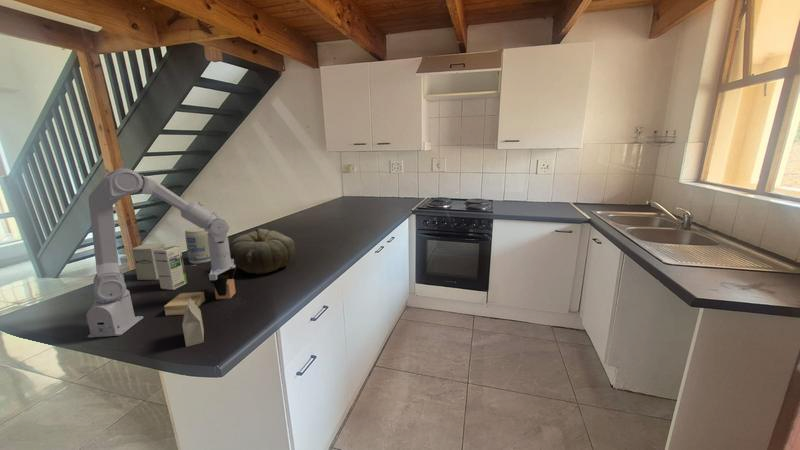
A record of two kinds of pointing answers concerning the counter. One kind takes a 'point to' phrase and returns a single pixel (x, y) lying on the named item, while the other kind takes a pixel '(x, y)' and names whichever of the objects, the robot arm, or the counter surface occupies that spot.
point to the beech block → (183, 302)
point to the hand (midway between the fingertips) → (225, 291)
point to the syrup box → (170, 267)
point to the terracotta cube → (229, 292)
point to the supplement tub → (197, 245)
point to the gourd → (261, 251)
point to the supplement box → (146, 261)
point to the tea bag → (193, 325)
